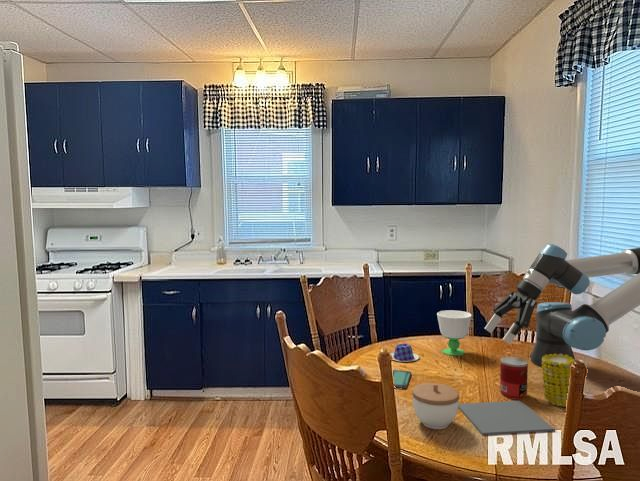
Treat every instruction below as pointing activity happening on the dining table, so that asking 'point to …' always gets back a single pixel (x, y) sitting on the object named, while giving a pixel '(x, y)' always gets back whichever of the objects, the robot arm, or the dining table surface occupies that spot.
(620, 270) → the robot arm
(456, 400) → the lidded bowl
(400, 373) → the smartphone
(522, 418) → the rubber mat
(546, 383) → the food
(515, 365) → the canned food
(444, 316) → the cup
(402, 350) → the pudding
